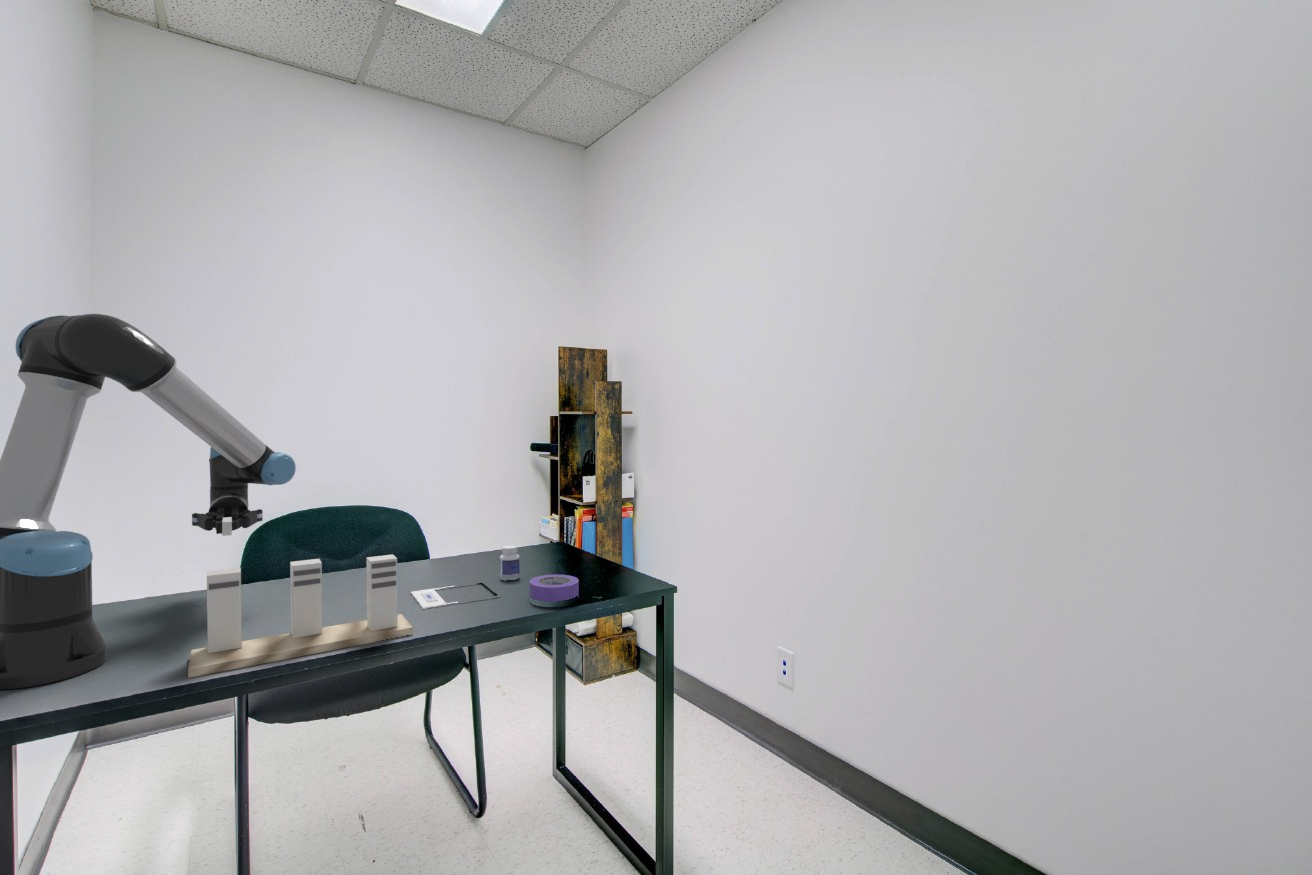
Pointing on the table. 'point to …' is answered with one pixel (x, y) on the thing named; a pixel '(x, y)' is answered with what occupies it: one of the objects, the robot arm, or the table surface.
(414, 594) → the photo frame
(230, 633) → the tile
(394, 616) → the tile
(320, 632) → the white tall block
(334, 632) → the key base
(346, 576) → the table surface
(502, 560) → the pill bottle
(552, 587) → the tape roll
